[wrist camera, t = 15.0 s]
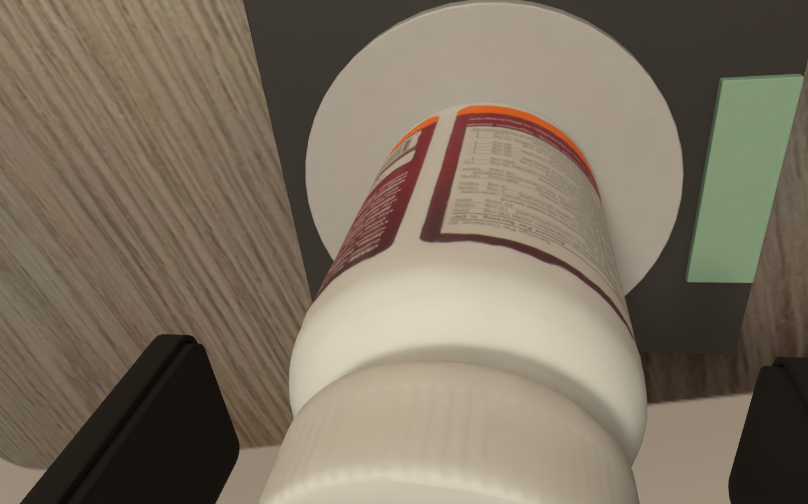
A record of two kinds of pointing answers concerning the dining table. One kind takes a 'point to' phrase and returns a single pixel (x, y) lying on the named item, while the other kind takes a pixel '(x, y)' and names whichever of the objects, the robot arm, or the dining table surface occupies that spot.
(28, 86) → the dining table surface
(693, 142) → the scale
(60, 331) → the dining table surface
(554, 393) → the pill bottle
